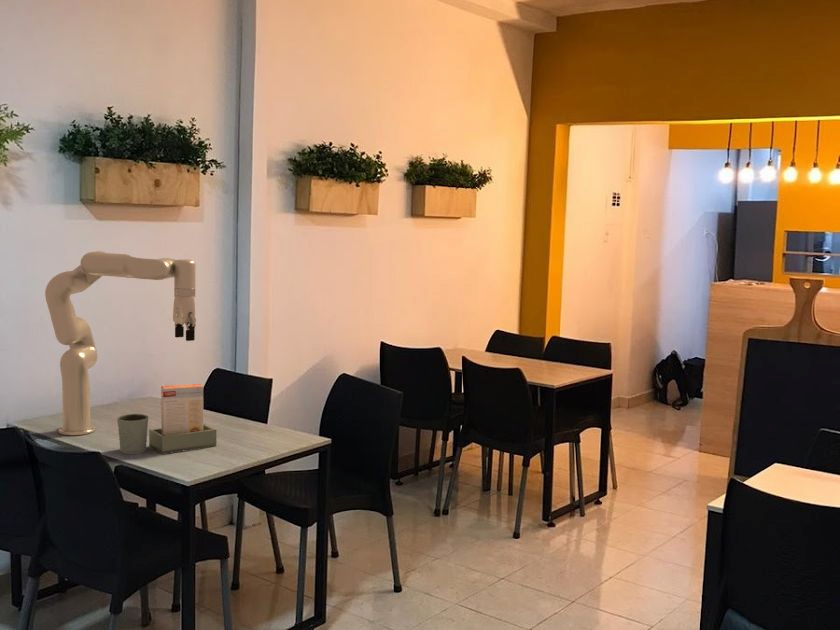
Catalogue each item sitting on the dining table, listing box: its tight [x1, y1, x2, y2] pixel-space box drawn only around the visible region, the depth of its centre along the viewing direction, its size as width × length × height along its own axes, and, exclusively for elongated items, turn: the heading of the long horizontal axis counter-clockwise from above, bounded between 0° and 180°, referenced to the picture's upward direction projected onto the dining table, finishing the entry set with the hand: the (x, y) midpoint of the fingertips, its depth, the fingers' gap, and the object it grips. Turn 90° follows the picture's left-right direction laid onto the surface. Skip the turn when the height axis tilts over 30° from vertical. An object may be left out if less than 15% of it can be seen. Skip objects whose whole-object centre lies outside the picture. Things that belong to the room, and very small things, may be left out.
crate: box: [148, 422, 217, 455], centre depth 302 cm, size 12×20×6 cm, turn 129°
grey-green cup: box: [116, 413, 149, 455], centre depth 294 cm, size 10×10×12 cm
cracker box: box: [160, 383, 204, 436], centre depth 301 cm, size 14×6×21 cm, turn 114°
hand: (184, 338), depth 314 cm, fingers open, 9 cm apart
